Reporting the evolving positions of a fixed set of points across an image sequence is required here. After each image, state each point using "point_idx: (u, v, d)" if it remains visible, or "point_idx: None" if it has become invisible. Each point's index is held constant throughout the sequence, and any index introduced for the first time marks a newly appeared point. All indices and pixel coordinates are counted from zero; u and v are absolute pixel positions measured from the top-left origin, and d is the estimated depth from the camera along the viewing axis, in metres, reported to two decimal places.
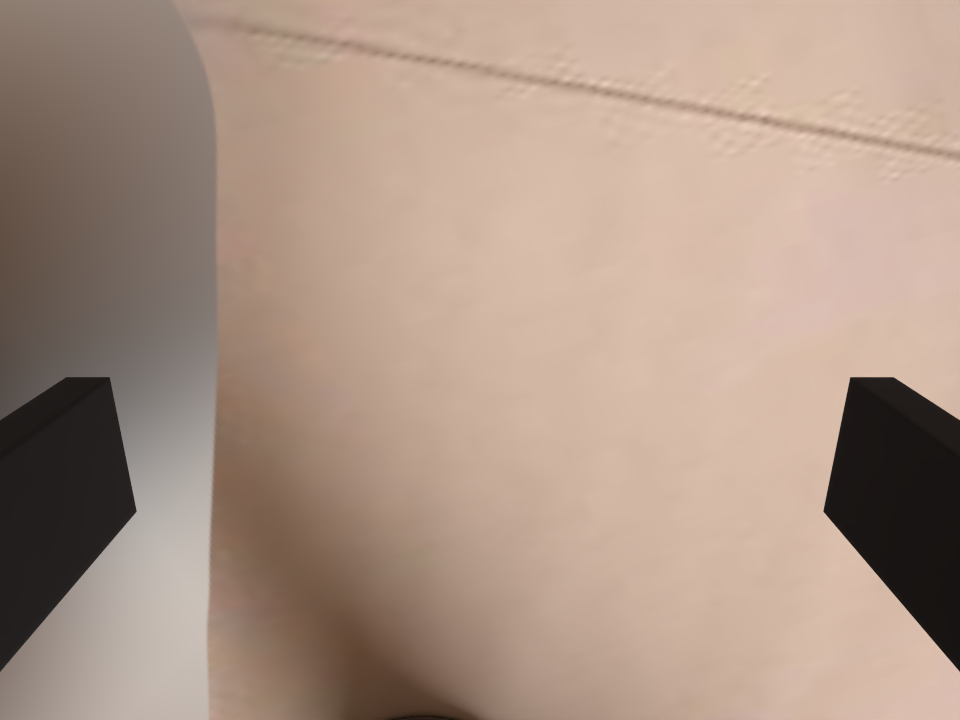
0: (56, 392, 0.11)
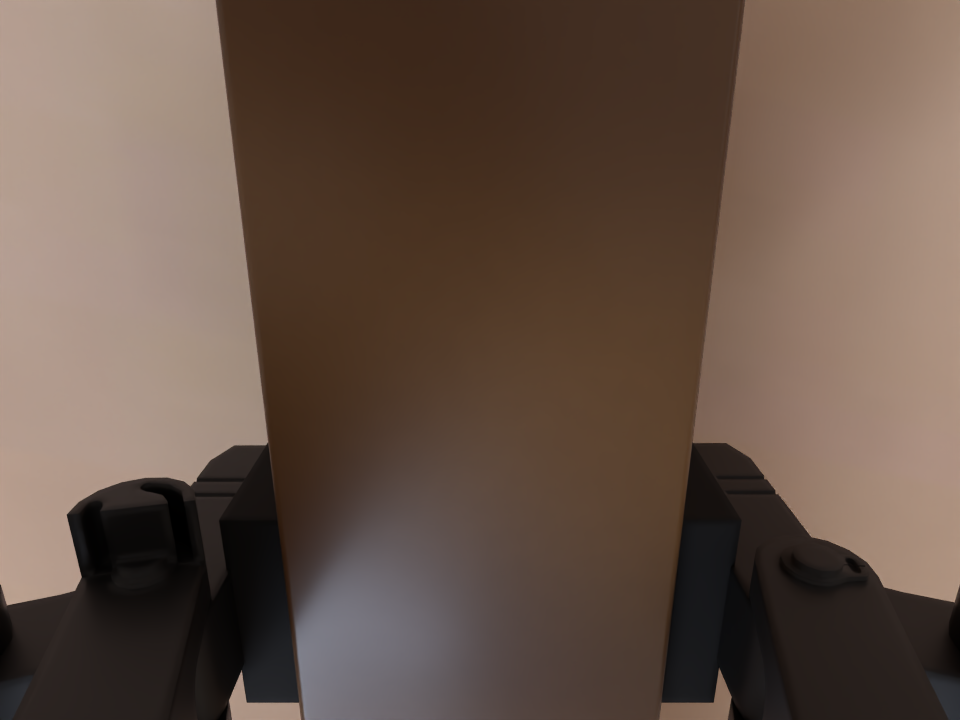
0: None
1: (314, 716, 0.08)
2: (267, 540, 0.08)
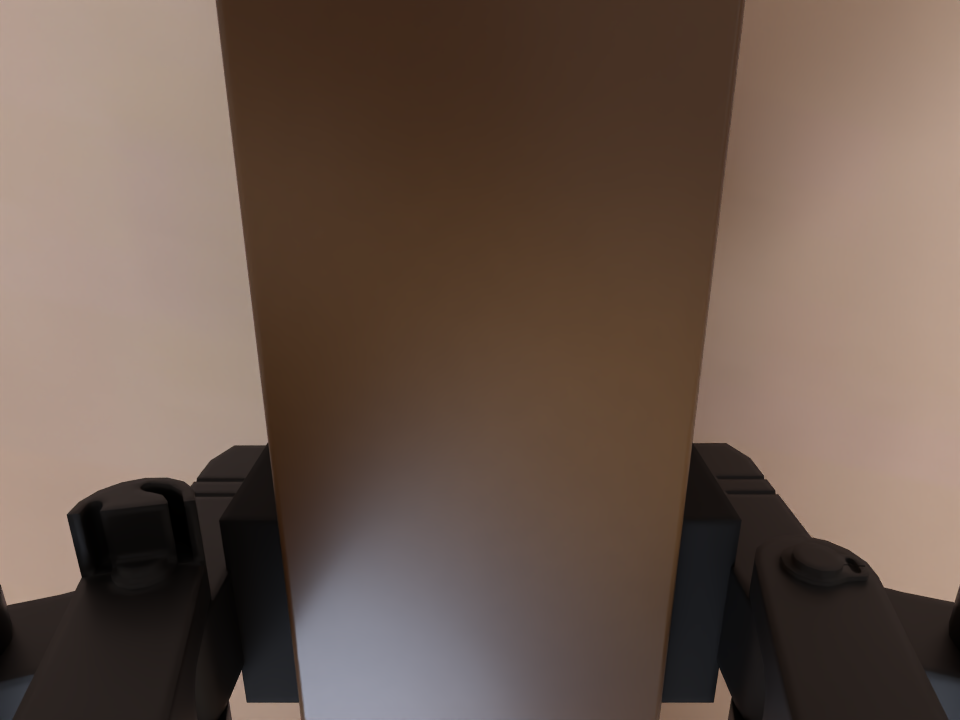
0: None
1: (314, 716, 0.08)
2: (267, 540, 0.08)
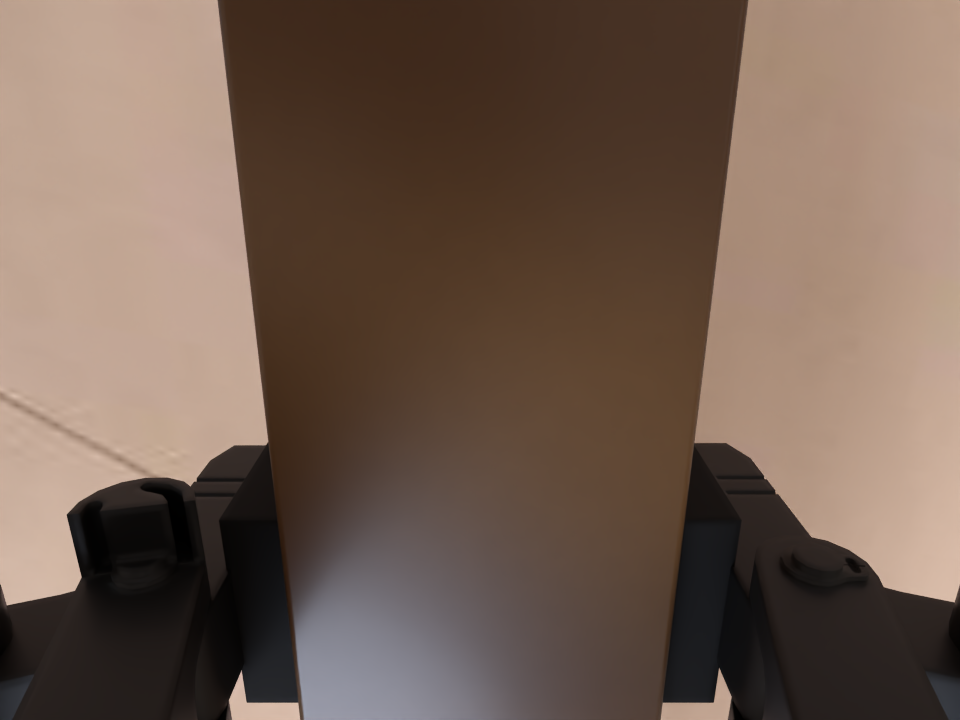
0: None
1: None
2: (267, 540, 0.08)
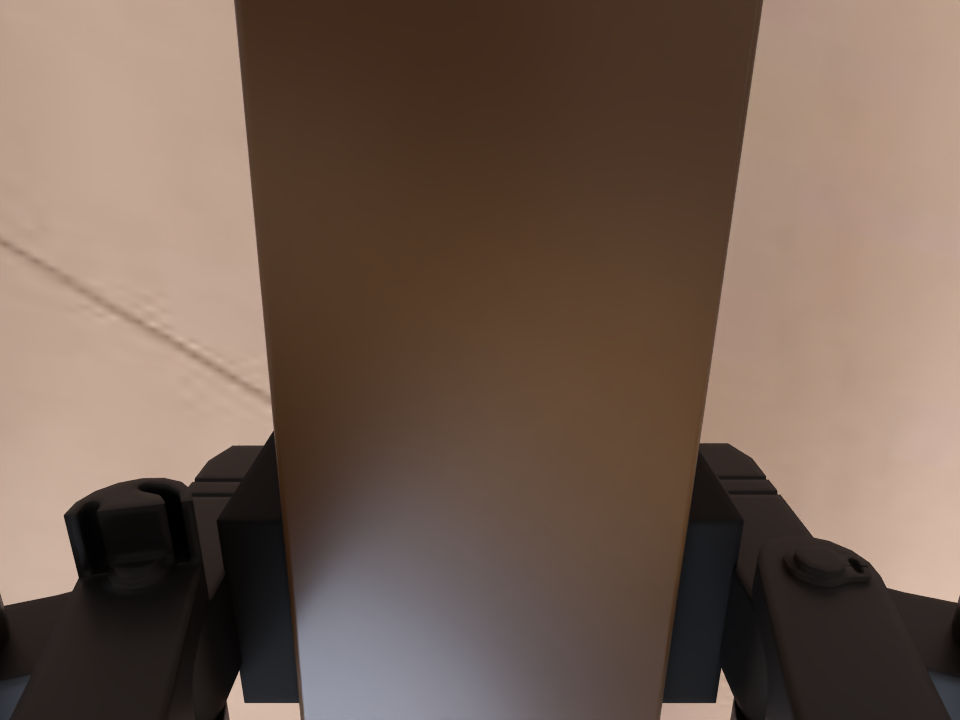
0: None
1: (314, 718, 0.08)
2: (265, 540, 0.08)
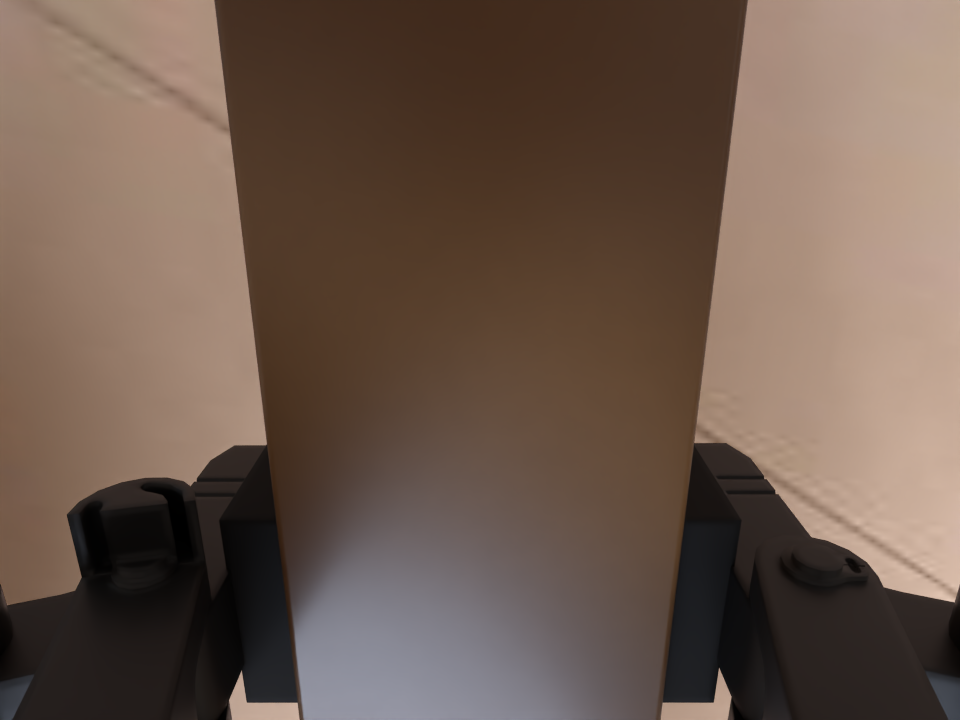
0: None
1: None
2: (267, 540, 0.08)
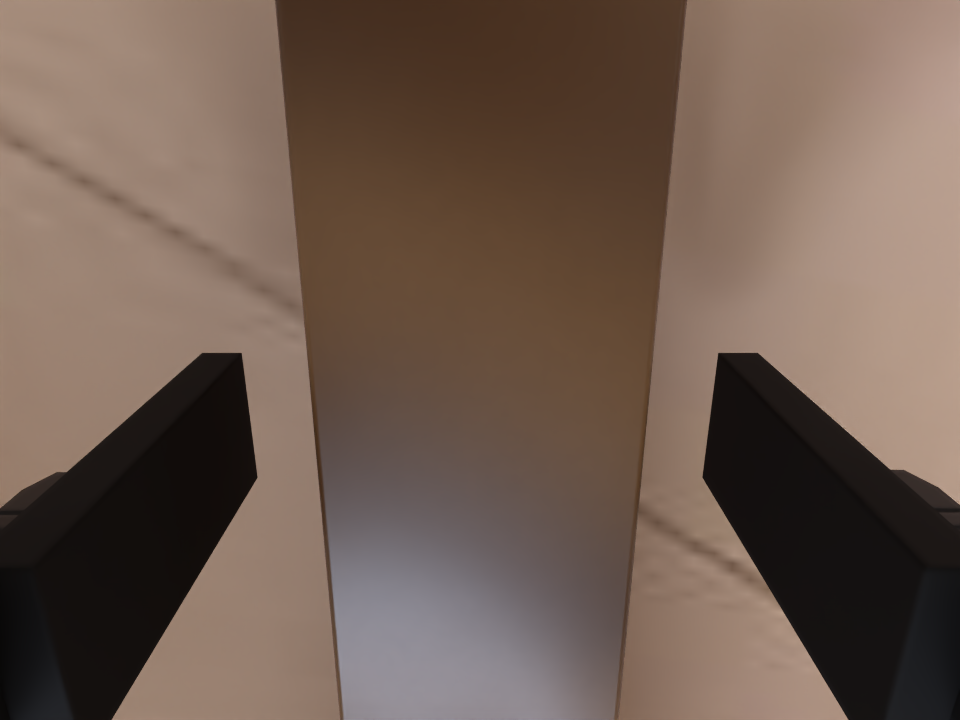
0: (199, 366, 0.12)
1: (342, 614, 0.10)
2: (15, 590, 0.07)
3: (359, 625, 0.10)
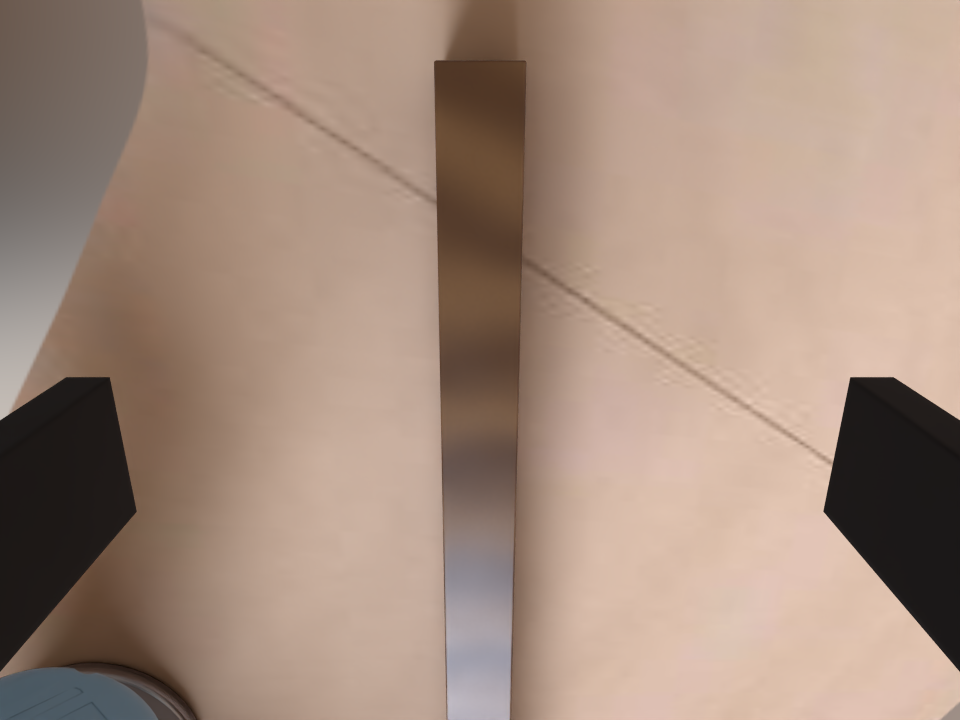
0: (55, 392, 0.11)
1: (441, 249, 0.36)
2: None
3: (446, 254, 0.36)
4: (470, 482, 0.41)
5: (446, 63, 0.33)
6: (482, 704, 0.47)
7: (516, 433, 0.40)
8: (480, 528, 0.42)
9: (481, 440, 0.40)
